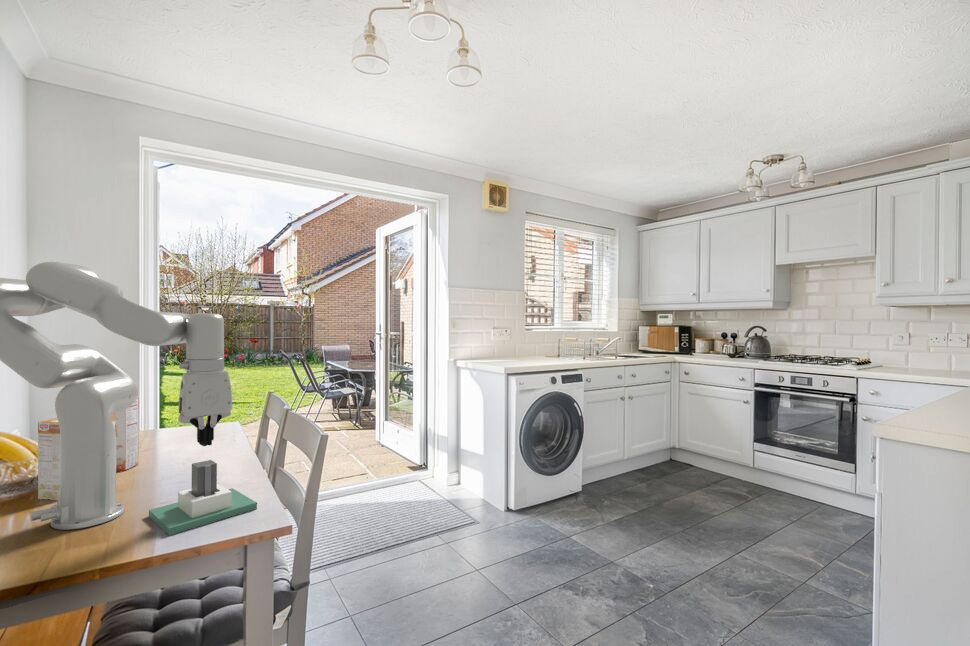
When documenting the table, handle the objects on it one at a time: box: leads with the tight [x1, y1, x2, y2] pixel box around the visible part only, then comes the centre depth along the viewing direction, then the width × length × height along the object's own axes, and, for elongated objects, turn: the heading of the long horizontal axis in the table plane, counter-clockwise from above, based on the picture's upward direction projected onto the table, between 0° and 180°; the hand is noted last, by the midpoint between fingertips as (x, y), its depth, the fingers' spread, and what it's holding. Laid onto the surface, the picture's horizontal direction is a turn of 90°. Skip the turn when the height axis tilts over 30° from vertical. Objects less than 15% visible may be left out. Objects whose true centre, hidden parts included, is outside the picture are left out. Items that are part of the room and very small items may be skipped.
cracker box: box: [115, 397, 140, 472], centre depth 137 cm, size 14×6×21 cm, turn 92°
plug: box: [191, 459, 218, 497], centre depth 107 cm, size 4×5×10 cm
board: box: [148, 487, 258, 536], centre depth 108 cm, size 18×14×2 cm
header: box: [177, 482, 232, 518], centre depth 107 cm, size 8×9×4 cm
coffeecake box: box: [37, 413, 115, 501], centre depth 121 cm, size 15×7×20 cm, turn 174°
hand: (205, 444), depth 108 cm, fingers closed
